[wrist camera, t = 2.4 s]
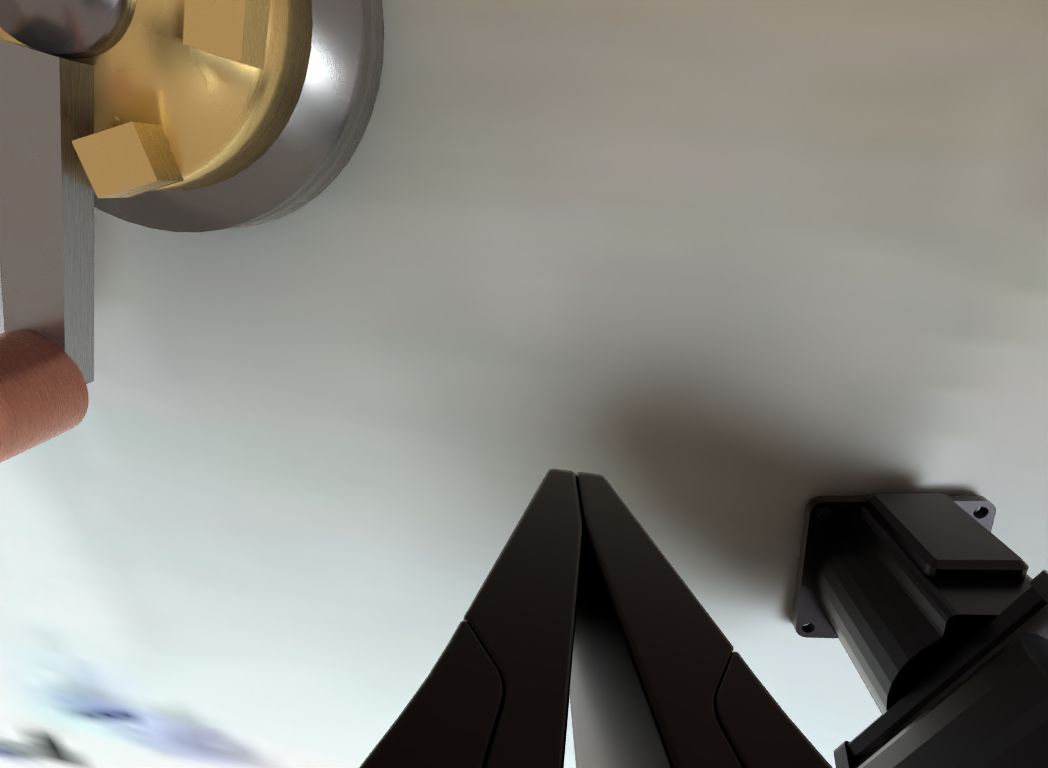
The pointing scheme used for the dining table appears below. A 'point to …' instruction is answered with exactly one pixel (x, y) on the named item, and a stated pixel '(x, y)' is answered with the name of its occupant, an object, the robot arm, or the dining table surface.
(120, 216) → the grey round base plate
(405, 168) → the dining table surface
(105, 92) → the copper and gold mechanism
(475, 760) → the robot arm
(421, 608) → the dining table surface
